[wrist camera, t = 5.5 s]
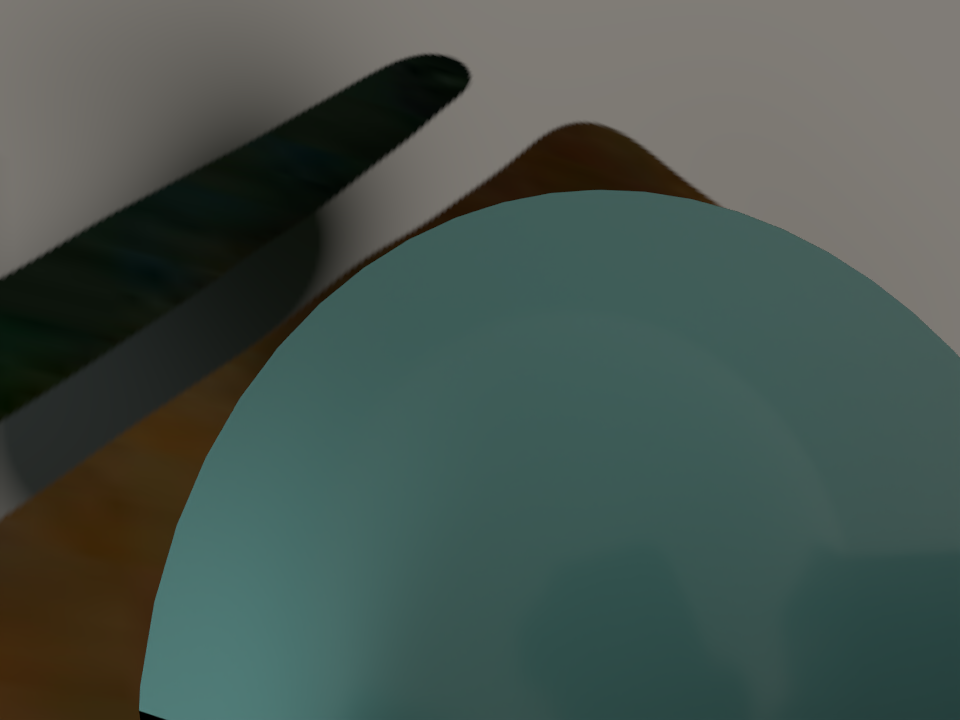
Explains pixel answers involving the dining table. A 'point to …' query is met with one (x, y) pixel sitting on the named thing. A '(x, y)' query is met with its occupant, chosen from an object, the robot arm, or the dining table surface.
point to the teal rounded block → (579, 488)
